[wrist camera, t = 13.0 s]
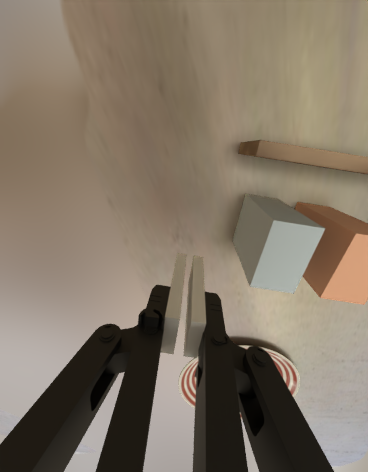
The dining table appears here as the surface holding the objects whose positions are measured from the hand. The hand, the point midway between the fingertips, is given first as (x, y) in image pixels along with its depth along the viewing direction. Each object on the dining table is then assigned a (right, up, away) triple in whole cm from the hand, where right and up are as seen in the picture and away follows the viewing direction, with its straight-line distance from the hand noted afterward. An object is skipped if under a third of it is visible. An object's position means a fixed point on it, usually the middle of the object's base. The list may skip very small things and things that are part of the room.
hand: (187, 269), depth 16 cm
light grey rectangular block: (+11, +5, +15) cm, 19 cm away
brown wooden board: (+23, +12, +11) cm, 28 cm away
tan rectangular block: (+19, +4, +15) cm, 24 cm away
